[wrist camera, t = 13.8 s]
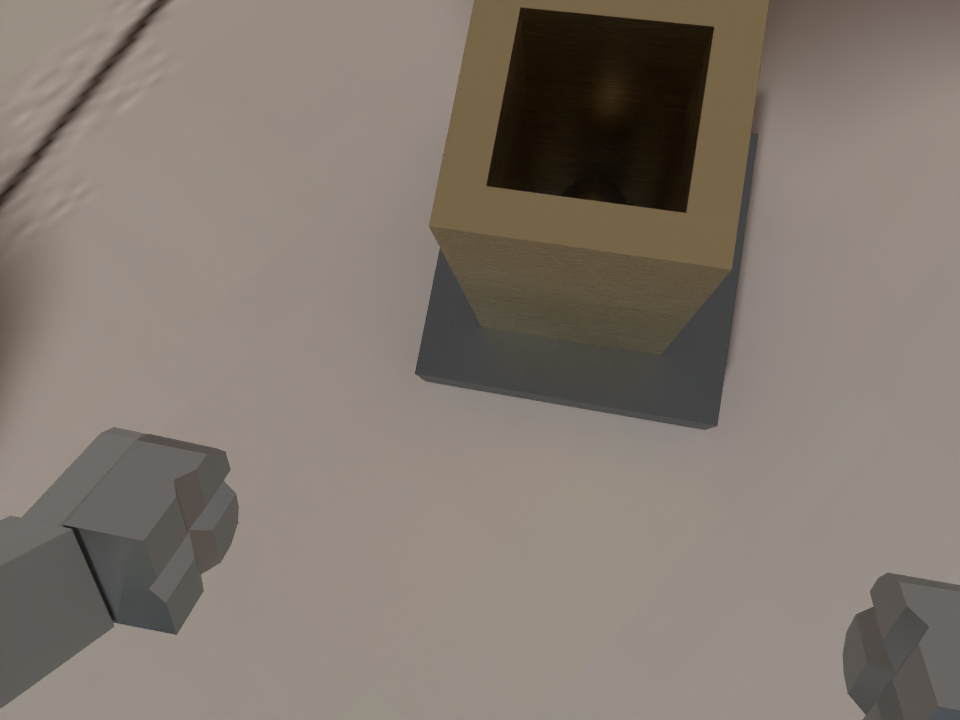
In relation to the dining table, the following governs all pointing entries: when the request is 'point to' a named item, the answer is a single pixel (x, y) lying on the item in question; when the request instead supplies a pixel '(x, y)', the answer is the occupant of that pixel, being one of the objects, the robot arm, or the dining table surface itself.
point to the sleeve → (598, 163)
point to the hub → (587, 347)
